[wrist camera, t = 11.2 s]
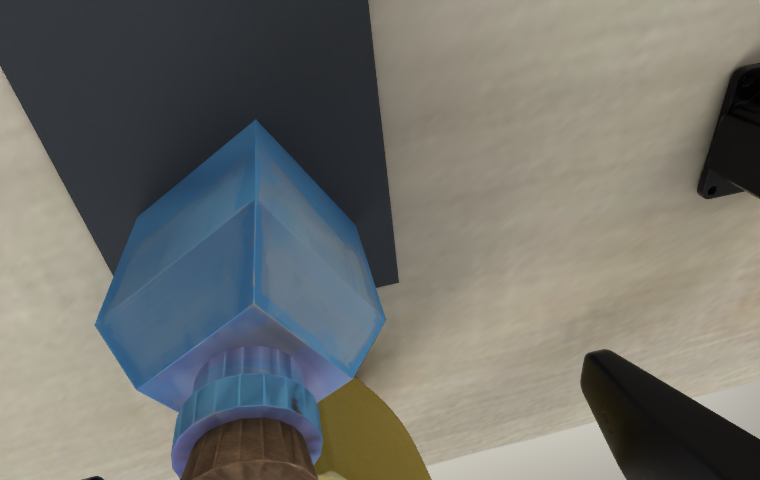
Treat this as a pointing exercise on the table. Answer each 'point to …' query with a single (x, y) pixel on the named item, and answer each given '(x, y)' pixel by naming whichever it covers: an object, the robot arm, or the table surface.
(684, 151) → the table surface
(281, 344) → the perfume bottle
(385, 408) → the flower pot
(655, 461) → the robot arm
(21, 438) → the table surface
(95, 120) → the desk mat
